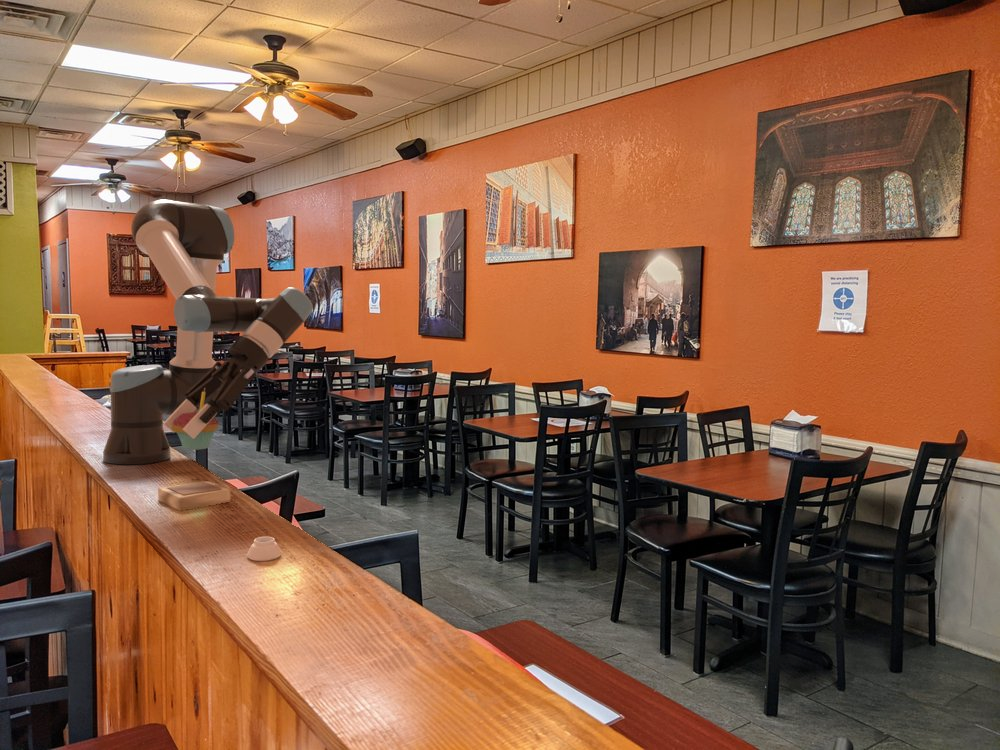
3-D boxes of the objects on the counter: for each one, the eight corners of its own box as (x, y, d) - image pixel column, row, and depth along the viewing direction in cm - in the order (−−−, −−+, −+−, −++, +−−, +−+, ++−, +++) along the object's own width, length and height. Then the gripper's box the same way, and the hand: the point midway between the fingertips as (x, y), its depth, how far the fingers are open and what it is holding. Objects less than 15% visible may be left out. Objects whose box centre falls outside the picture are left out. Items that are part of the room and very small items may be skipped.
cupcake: (226, 445, 147) (226, 386, 146) (205, 452, 139) (204, 390, 138) (185, 443, 148) (185, 384, 147) (162, 450, 139) (162, 388, 138)
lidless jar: (253, 551, 116) (242, 562, 111) (254, 533, 116) (242, 543, 111) (284, 553, 116) (275, 563, 111) (285, 535, 116) (275, 545, 111)
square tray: (158, 500, 144) (158, 487, 144) (207, 492, 151) (207, 480, 151) (179, 510, 137) (179, 496, 137) (230, 502, 144) (230, 488, 144)
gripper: (293, 363, 146) (216, 450, 135) (242, 357, 160) (169, 436, 150) (269, 336, 142) (188, 425, 131) (219, 333, 156) (142, 412, 145)
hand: (178, 431), depth 140 cm, fingers closed on cupcake, 8 cm apart
